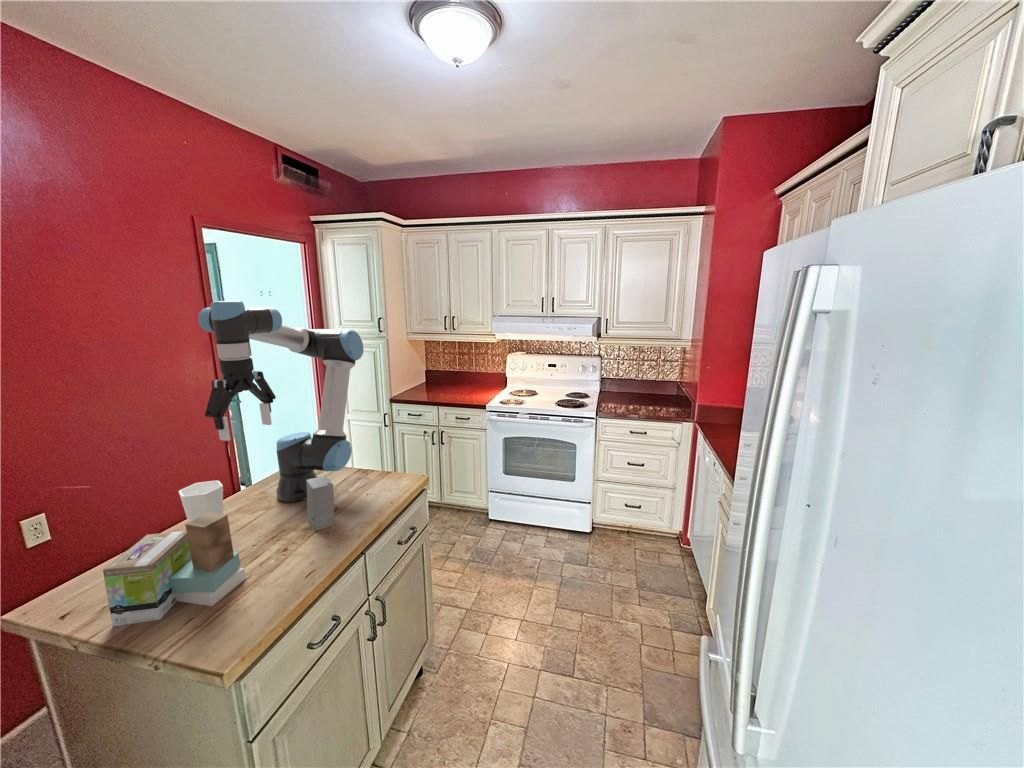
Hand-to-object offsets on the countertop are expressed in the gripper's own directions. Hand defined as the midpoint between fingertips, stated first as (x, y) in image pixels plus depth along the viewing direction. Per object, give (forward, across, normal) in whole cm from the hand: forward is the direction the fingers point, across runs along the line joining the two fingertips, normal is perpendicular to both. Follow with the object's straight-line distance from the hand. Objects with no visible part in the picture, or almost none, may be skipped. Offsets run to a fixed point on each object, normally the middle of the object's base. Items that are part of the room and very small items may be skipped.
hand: (247, 431), depth 113 cm
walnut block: (+29, +18, +4) cm, 34 cm away
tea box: (+36, +26, -6) cm, 45 cm away
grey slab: (+37, +19, +3) cm, 42 cm away
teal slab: (+33, +20, +3) cm, 38 cm away
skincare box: (+38, -14, +9) cm, 41 cm away
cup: (+37, +1, -21) cm, 42 cm away
